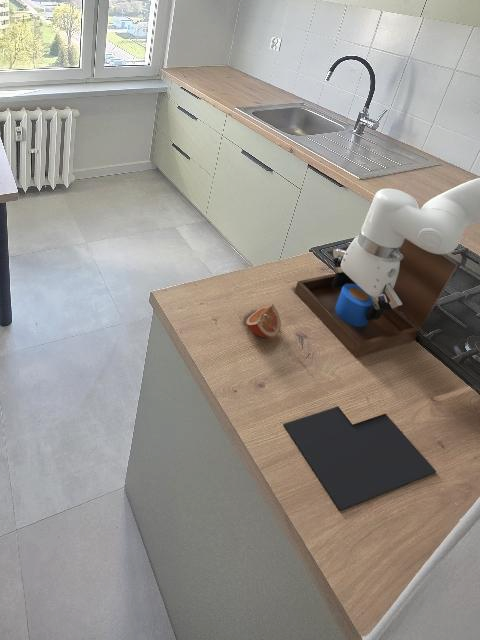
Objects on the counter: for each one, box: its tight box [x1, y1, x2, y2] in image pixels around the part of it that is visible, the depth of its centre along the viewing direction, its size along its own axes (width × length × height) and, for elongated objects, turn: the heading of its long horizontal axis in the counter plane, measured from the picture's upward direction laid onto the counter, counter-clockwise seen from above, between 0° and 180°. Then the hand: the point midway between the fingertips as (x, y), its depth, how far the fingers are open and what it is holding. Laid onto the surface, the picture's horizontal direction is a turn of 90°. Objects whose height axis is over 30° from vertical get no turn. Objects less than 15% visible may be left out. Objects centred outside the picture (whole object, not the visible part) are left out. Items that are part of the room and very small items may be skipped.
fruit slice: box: [245, 303, 282, 338], centre depth 93 cm, size 8×7×5 cm
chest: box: [294, 272, 421, 359], centre depth 97 cm, size 17×19×4 cm
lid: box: [385, 238, 459, 329], centre depth 96 cm, size 17×19×5 cm
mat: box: [283, 406, 438, 512], centre depth 72 cm, size 20×13×1 cm, turn 106°
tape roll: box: [335, 284, 373, 327], centre depth 97 cm, size 7×7×6 cm
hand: (353, 301), depth 97 cm, fingers open, 9 cm apart
